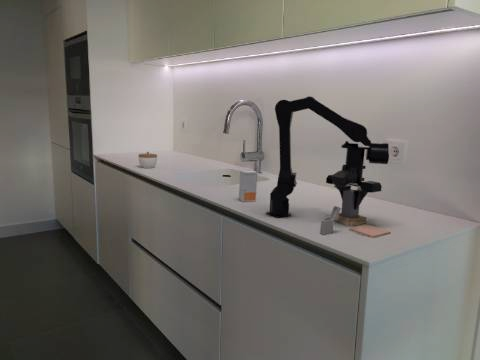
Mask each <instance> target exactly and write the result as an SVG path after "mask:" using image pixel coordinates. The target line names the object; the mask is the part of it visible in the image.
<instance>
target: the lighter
mask: <svg viewBox="0 0 480 360" xmlns="http://www.w3.org/2000/svg"><path fill="white" fill-rule="evenodd" d="M341 211H342V207H340V206H336V205H333V207H332V210H331V214H330V215H326V216H324V218H323V219H321V220H320V231H319V234H320V235H323V236H326V235H330V234H333V233H334V224H335V223H334V222H336V220H337V218H338V215H339V213H341ZM334 220H335V221H334Z"/></svg>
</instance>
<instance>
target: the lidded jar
mask: <svg viewBox="0 0 480 360" xmlns="http://www.w3.org/2000/svg"><path fill="white" fill-rule="evenodd" d="M157 160H158V155H157V154H156V153H149V151H146V153H139V154H138V163H139V166H141V168H142V169H153V168H154V167H155V166H156V165H157Z"/></svg>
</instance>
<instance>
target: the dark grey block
mask: <svg viewBox="0 0 480 360" xmlns="http://www.w3.org/2000/svg"><path fill="white" fill-rule="evenodd" d="M353 190H354V189H352V188H351V189H349V190H343V200H342V199H341V202H342V203H341V210H340V213H341V216H343V217H346V218H350V219H353V218H358V215H360V214H359V212H360V206H359V207H358V209H356V210H355V209H354V202H355V193H354V191H353Z"/></svg>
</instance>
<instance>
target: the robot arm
mask: <svg viewBox="0 0 480 360" xmlns="http://www.w3.org/2000/svg"><path fill="white" fill-rule="evenodd" d="M305 110H310V111H312V112H313V113H315V114H316V115H318V116H319V117H321V118H323V119H325V120H326V121H327V122H329V123H330V124H332V125H333V126H335V127H336V128H338V129H339V130H341V132H343V133H344V135H345V136H347V137H348V138H349V139H350V140H351V141H352V142H354V143H352V142H349V141H348V140H345V142H344V143H343V144H342V145H341V146H340V147H341V148H342V149H346V155H345V164H342V167H341V170H338V171H337V172H335V173H334V174H329V175H327V177H326V178H325V184H330V185H333V187H334V188H335V189H336V190H338V192H339V195H340V198H341V201H342V200H343V190H349V189H352V186H353V187H356V188H357V189H352V190H353V191H354V193H355V202H354V209H355V210H356V209H358V207H359V208H360V205H361V204H362V202H363V200H364V199H365V197H366V196H367V195H368V193H378V192H382V187H383V186H382V184H381V182H377V181H374V180H368V181H365V177H363V171H364V170H365V169H366V167H367V166H366V165H364V161H365V160H366V161H368V163H369V164H374V165H375V164H378V165H388V164H389V159H390V153H389V152H390V151H389V150H390V149H389V146H390V145H389V143H387V142H382V143H377V142H376V143H375V142H374V143H373V142H372V140H371V139H369V137H368V131H367V128H366V127H365V126H364V125H362V124H360V123H357V122H355V121H353V120H350V119H347V118H345V117H343V116H342V115H340V114H339V113H336V112H335V111H334V110H333V109H330V108H329V107H328V106H326V105H325V104H323V103H321V102H320V101H318V100H317V99H315V97H314V96H309V95H308V96H307V97H304V98H298V99H294V100H287V99H279V100H278V101H277V103H275V107H274V112H275V116H276V117H275V118H276V121H277V125H278V132H279V133H278V134H279V136H278V137H279V138H278V139H279V140H278V141H279V170H278V171H279V173H278V175H277V176H278V177H277V182H276V186H274V188H273V189H272V191H270V193H269V196H270V197H269V198H270V199H269V211H266V213H265V215H269V216H271V217H275V218H278V219H280V218H285V217H290V216H292V213H289V212H290V211H289V210H290V203H289V201H290V198H288V196H290V195H291V194H292V193H293V192H294V190H295V187H297V184H298V182H297V172H293V169H292V143H291V142H292V140H291V139H292V137H291V136H292V135H291V126H292V121H293V115H294V113H295V112H299V111H305ZM359 143H361V144H362V145H364V146H359Z"/></svg>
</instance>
